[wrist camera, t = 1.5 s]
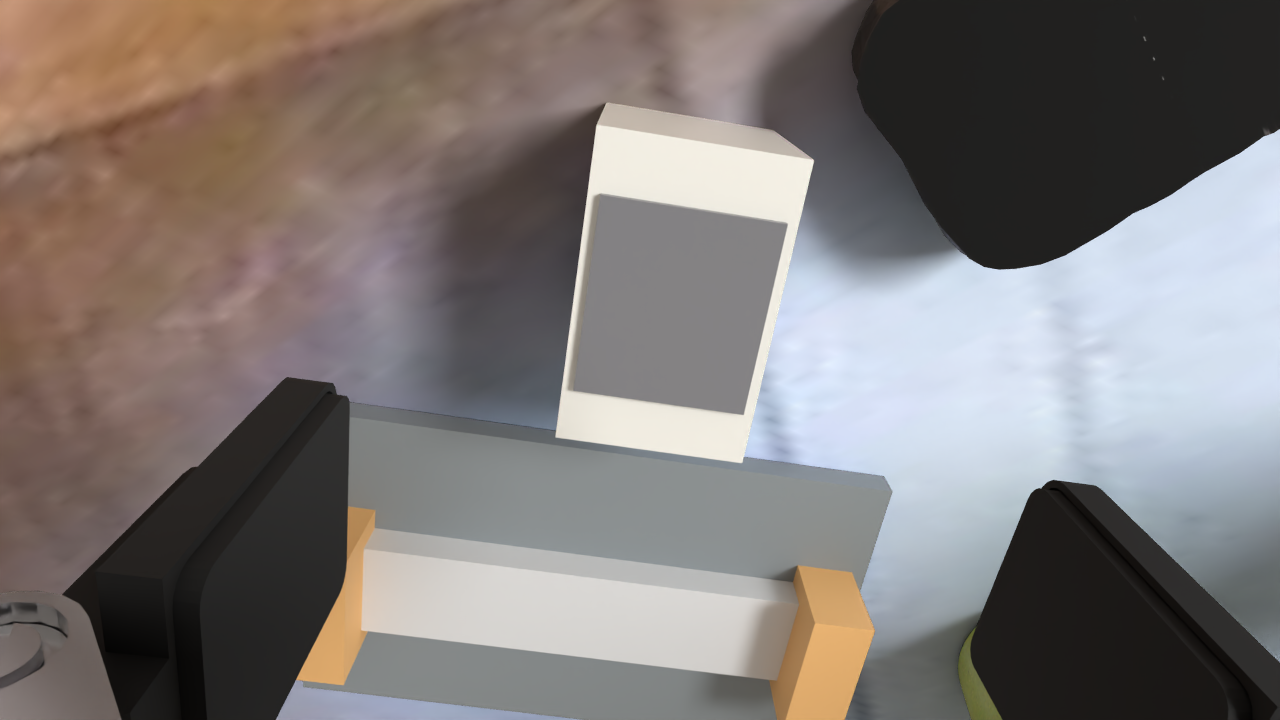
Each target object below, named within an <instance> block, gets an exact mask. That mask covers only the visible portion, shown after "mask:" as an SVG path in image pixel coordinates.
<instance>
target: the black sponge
mask: <svg viewBox="0 0 1280 720" xmlns="http://www.w3.org/2000/svg"><path fill="white" fill-rule="evenodd" d="M852 63H853V70H854V73H855V75H856V77H857V79H858V85H857V90H858V93H859V96H860V99H861V102H862V105H863V108H864V111H865V112H866V114H867V115H868V116H869V118H870V119H871V120H872V121H873V123H874V124H875V125H876V127H877V128H878V129H879V131H880V132H881V133H882V135H883V136H884V137H885V138H886V140H887V141H888V142H889V144H890V145H891V146H892V148H893V149H894V150H895V151H896V153H897V154H898V155H899V157H900V158H901V159H902V161H903V163H904V165H905V167H906V169H907V171H908V173H909V175H910V177H911V179H912V181H913V183H914V184H915V186H916V188H917V190H918V192H919V194H920V196H921V198H922V200H923V202H924V204H925V205H926V207H927V208H928V210H929V211H930V212H931V214H932V215H933V217H934V218H935V220H936V222H937V224H938V225H939V227H940V229H941V230H942V232H943V234H944V235H945V236H946V238H947V239H948V240H949V241H950V242H951V243H952V244H953V245H954V246H955V247H956V248H957V249H958V250H959V251H960V252H961V253H963V254H965V255H967V257H968V258H969V259H971V260H973V261H974V262H976V263H978V264H980V265H982V266H983V267H988V268H993V269H999V270H1000V269H1017V268H1023V267H1029V266H1035V265H1041V264H1043V263H1046V262H1049V261H1051V260H1054V259H1057V258H1059V257H1062V256H1065V255H1066V254H1068V253H1070V252H1072V251H1073V250H1075V249H1077V248H1079V247H1080V246H1082V245H1084V244H1086V243H1087V242H1089V241H1091V240H1093V239H1094V238H1096V237H1098V236H1100V235H1101V234H1103V233H1105V232H1106V231H1108V230H1110V229H1111V228H1113V227H1114V226H1115V225H1117V224H1118V223H1120V222H1121V221H1123V220H1124V219H1125V218H1127V217H1128V216H1130V215H1131V214H1133V213H1135V212H1137V211H1139V210H1142V209H1144V208H1146V207H1149V206H1151V205H1153V204H1155V203H1157V202H1158V201H1160V200H1162V199H1164V198H1166V197H1168V196H1170V195H1171V194H1173V193H1174V192H1176V191H1177V190H1179V189H1180V188H1182V187H1183V186H1184V185H1186V184H1187V183H1189V182H1190V181H1192V180H1193V179H1195V178H1196V177H1198V176H1199V175H1201V174H1203V173H1204V172H1206V171H1208V170H1210V169H1211V168H1213V167H1215V166H1217V165H1219V164H1221V163H1222V162H1224V161H1226V160H1228V159H1230V158H1232V157H1233V156H1235V155H1237V154H1239V153H1241V152H1242V151H1244V150H1245V149H1246V148H1248V147H1249V146H1251V145H1252V144H1254V143H1255V142H1256V141H1258V140H1259V139H1261V138H1262V137H1264V136H1266V135H1269V134H1272V133H1274V132H1276V131H1277V130H1279V129H1280V0H874V1H873V3H872V4H871V6H870V8H869V9H868V11H867V13H866V14H865V17H864V19H863V21H862V24H861V26H860V28H859V31H858V33H857V36H856V39H855V41H854V45H853V49H852Z"/></svg>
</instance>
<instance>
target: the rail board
mask: <svg viewBox="0 0 1280 720" xmlns="http://www.w3.org/2000/svg"><path fill="white" fill-rule="evenodd" d="M349 403H350V425H349V476H348V528H347V567H346V575H345V579H344V583H343V586H342V590H341V592H340V594H339V596H338V598H337V600H336V602H335V604H334V606H333V608H332V610H331V612H330V614H329V616H328V618H327V620H326V622H325V624H324V626H323V628H322V630H321V632H320V634H319V636H318V638H317V640H316V641H315V643H314V645H313V647H312V649H311V651H310V653H309V655H308V657H307V659H306V661H305V663H304V665H303V667H302V669H301V671H300V673H299V675H298V677H297V679H296V680H302V681H303V687H308V688H316V689H325V690H333V691H342V692H351V693H359V694H368V695H376V696H385V697H393V698H402V699H411V700H419V701H428V702H436V703H445V704H454V705H462V706H471V707H479V708H488V709H496V710H505V711H514V712H522V713H531V714H539V715H548V716H557V717H565V718H574V719H582V720H845V717H846V714H847V711H848V708H849V705H850V702H851V699H852V696H853V694H854V691H855V688H856V685H857V682H858V679H859V676H860V673H861V670H862V667H863V664H864V661H865V659H866V656H867V653H868V650H869V647H870V644H871V641H872V638H873V635H874V632H875V629H874V627H873V624H872V622H871V619H870V617H869V614H868V612H867V609H866V607H865V604H864V602H863V599H862V596H861V594H860V589H861V586H862V583H863V580H864V577H865V574H866V571H867V568H868V565H869V562H870V559H871V556H872V553H873V550H874V547H875V543H876V540H877V537H878V534H879V531H880V528H881V525H882V522H883V519H884V516H885V513H886V510H887V507H888V504H889V500H890V497H891V494H892V490H891V488H890V486H889V484H888V483H887V481H886V479H885V477H884V476H877V475H870V474H863V473H856V472H848V471H841V470H834V469H827V468H820V467H812V466H805V465H798V464H791V463H784V462H776V461H769V460H762V459H755V458H748V457H744V458H743V462H742V463H737V462H730V461H722V460H715V459H708V458H701V457H693V456H686V455H679V454H672V453H665V452H657V451H650V450H643V449H636V448H628V447H621V446H614V445H607V444H600V443H592V442H585V441H578V440H571V439H563V438H556V437H555V436H556V431H553V430H546V429H539V428H531V427H524V426H517V425H510V424H503V423H495V422H488V421H481V420H474V419H467V418H459V417H452V416H445V415H438V414H431V413H423V412H416V411H409V410H402V409H395V408H387V407H380V406H373V405H366V404H359V403H351V402H349Z"/></svg>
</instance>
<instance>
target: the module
mask: <svg viewBox="0 0 1280 720" xmlns="http://www.w3.org/2000/svg"><path fill="white" fill-rule="evenodd" d="M813 163H814V160H813V159H812V158H811V157H809V156H808V155H807V154H805V153H804V152H803V151H801V150H800V149H798V148H797V147H796V146H794V145H793V144H792V143H790V142H789V141H787V140H786V139H785V138H783V137H782V136H781V135H779V134H778V133H777V132H775V131H774V130H771V129H765V128H759V127H753V126H746V125H740V124H734V123H728V122H722V121H716V120H710V119H704V118H698V117H692V116H686V115H680V114H674V113H668V112H662V111H656V110H650V109H644V108H637V107H631V106H625V105H619V104H613V103H606V105H605V107H604V109H603V112H602V114H601V116H600V118H599V120H598V123H597V126H596V133H595V141H594V148H593V156H592V163H591V171H590V179H589V186H588V194H587V201H586V209H585V216H584V224H583V232H582V239H581V247H580V254H579V262H578V269H577V277H576V285H575V292H574V300H573V307H572V315H571V322H570V330H569V338H568V345H567V353H566V360H565V368H564V375H563V383H562V391H561V398H560V406H559V413H558V421H557V428H556V436H555V437H556V438H563V439H571V440H578V441H585V442H592V443H600V444H607V445H614V446H621V447H628V448H636V449H643V450H650V451H657V452H665V453H672V454H679V455H686V456H693V457H701V458H708V459H715V460H722V461H730V462H737V463H742V462H743V458H744V454H745V449H746V445H747V441H748V437H749V433H750V428H751V424H752V420H753V416H754V412H755V407H756V403H757V399H758V395H759V391H760V386H761V382H762V378H763V374H764V369H765V365H766V361H767V357H768V353H769V348H770V344H771V340H772V336H773V332H774V327H775V323H776V319H777V315H778V311H779V306H780V302H781V298H782V294H783V290H784V285H785V281H786V277H787V273H788V268H789V264H790V260H791V256H792V252H793V247H794V243H795V239H796V235H797V231H798V226H799V222H800V218H801V214H802V210H803V205H804V201H805V197H806V193H807V188H808V184H809V180H810V176H811V172H812V167H813Z"/></svg>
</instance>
